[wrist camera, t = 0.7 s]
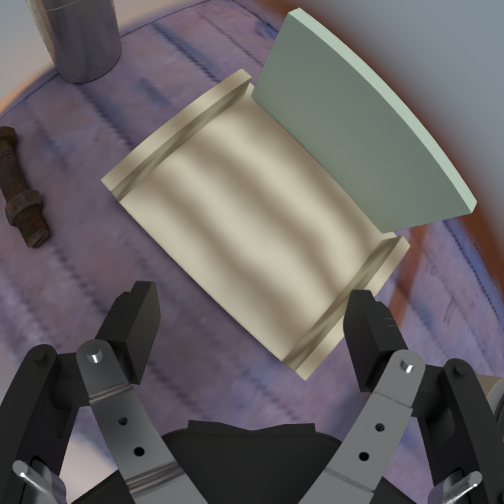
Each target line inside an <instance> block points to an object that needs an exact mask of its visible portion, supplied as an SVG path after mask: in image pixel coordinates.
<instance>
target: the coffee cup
mask: <svg viewBox="0 0 504 504" xmlns="http://www.w3.org/2000/svg"><path fill="white" fill-rule="evenodd" d="M475 375H476V377H477V379H478V381H479V383H480V385H481V387H482V390H483V392H484V394H485V396H486V399H487V401H488V403H489V405H490V408H491V410H492V412H493V415H494V417H495V420H496V422H497V425H498V427H499V430H500V432H501V435H502V438H503V439H504V378H501V377H493V376H486V375H479V374H475ZM450 412H451V411H450Z"/></svg>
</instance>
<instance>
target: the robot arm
mask: <svg viewBox="0 0 504 504" xmlns="http://www.w3.org/2000/svg"><path fill="white" fill-rule="evenodd" d="M26 3H27V5H28V7H29V9H30V12H31V14H32V16H33V18H34V21H35V23H36V25H37V28H38V30H39V32H40V34H41V36H42V38H43V41H44V43H45V45H46V47H47V49H48V51H49V53H50V56H51V58H52V60H53V62H54V64H55V66H56V68H57V70H58V72H59V74H60V76H61V77H62V78H63V79H64V80H66V81H68V82H71V83H84V82H88V81H92V80H94V79H96V78H99V77H101V76H102V75H104V74H105V73H107V72H108V71H109V70H110V69H112V67H113V66H114V65H115V64H116V63H117V61H118V59H119V57H120V54H121V43H120V38H119V32H118V25H117V19H116V13H115V6H114V0H26ZM159 324H160V307H159V301H158V295H157V288H156V284H155V282H151V281H136V282H135V284H134V286H133V288H132V290H131V292H124V293H122V294H121V295H120V296H119V297H118V298H116V300H115V302H114V303H113V305H112V307H111V309H110V311H109V313H108V316H106V318H105V320H104V322H103V324H102V326H101V328H100V329H99V331H98V333H97V335H96V337H95V339H94V340H90V341H87V342H85V343H84V344H82V345H81V346H80V347H79V348H78V350H77V352H75V353H67V354H57V352H56V350H55V349H54V347H52V346H51V345H48V344H41V345H37V346H35V347H33V348H32V349H31V350H29V351H28V353H27V354H26V356H25V358H24V360H23V361H22V363H21V365H20V367H19V369H18V371H17V373H16V375H15V377H14V379H13V381H12V383H11V385H10V387H9V389H8V391H7V393H6V395H5V397H4V399H3V401H2V403H1V406H0V504H67V502H66V487H65V485H64V483H63V481H62V480H61V479H60V478H59V475H60V471H61V467H62V463H63V460H64V456H65V452H66V449H67V445H68V442H69V439H70V435H71V432H72V429H73V426H74V422H75V419H76V416H77V413H78V410H79V407H83V406H91V408H92V411H93V413H94V416H95V418H96V421H97V423H98V425H99V428H100V430H101V432H102V435H103V437H104V439H105V441H106V444H107V446H108V448H109V450H110V452H111V454H112V456H113V459H114V461H115V463H116V465H117V467H118V470H116V471H115V472H114V473H112V474H111V475H110V476H109V477H107V478H106V479H104V480H103V481H102V482H100V483H99V484H97V485H96V486H95V487H94V488H92V489H90V490H89V491H88V492H86V493H85V494H83V495H82V496H80V497H79V498H78V499H76V500H75V501H73V502H72V503H71V504H417V503H415V502H414V501H413V500H411V499H410V498H409V497H408V496H406V495H405V494H404V493H403V492H401V491H400V490H399V489H398V488H396V487H395V486H394V485H393V484H391V483H390V482H389V481H388V480H387V479H385V478H384V477H383V474H384V472H385V470H386V468H387V466H388V464H389V462H390V460H391V458H392V456H393V454H394V452H395V450H396V448H397V446H398V443H399V441H400V439H401V437H402V435H403V432H404V430H405V428H406V426H407V423H408V421H409V419H410V416H413V417H417V420H418V423H419V427H420V430H421V434H422V438H423V442H424V446H425V450H426V454H427V458H428V462H429V466H430V470H431V475H432V480H433V484H434V488H433V489H432V490H431V491H430V493H429V496H428V500H427V501H428V504H504V440H503V438H502V435H501V432H500V430H499V427H498V425H497V422H496V420H495V417H494V415H493V412H492V410H491V408H490V405H489V403H488V401H487V399H486V396H485V394H484V392H483V390H482V387H481V385H480V383H479V381H478V379H477V377H476V375H475V373H474V370H473V369H472V367H471V366H470V365H469V364H468V363H467V362H465V361H464V360H461V359H457V358H453V359H450V360H448V361H447V362H446V364H445V365H444V367H438V366H432V365H427V364H425V362H424V360H423V359H422V357H421V356H420V355H418V354H417V353H415V352H413V351H411V350H408V348H407V345H406V343H405V341H404V339H403V337H402V335H401V333H400V331H399V329H398V326H396V325H397V324H396V322H395V320H394V319H393V316H392V314H391V312H390V310H389V309H388V308H387V307H386V306H385V305H384V304H383V303H382V302H381V301H380V302H376V301H375V299H374V297H373V294H372V292H371V291H370V290H352V291H351V292H350V296H349V300H348V303H347V307H346V311H345V315H344V319H343V332H344V336H345V339H346V342H347V346H348V349H349V352H350V356H351V359H352V363H353V366H354V370H355V373H356V377H357V381H358V384H359V388H360V392H371V396H370V398H369V400H368V401H367V403H366V405H365V407H364V408H363V410H362V412H361V414H360V415H359V417H358V419H357V420H356V422H355V424H354V425H353V427H352V429H351V430H350V432H349V433H348V435H347V436H346V438H345V440H344V441H343V442H341V441H340V440H338V439H336V438H334V437H332V436H330V435H327V434H324V433H320V432H316V431H315V424H314V423H308V424H283V425H278V426H274V427H269V428H264V429H260V430H254V431H250V430H246V429H242V428H238V427H234V426H230V425H227V424H223V423H219V422H206V421H194V420H189V422H188V428H185V429H180V430H175V431H172V432H169V433H167V434H165V435H163V436H161V437H160V435H159V433H158V432H157V430H156V428H155V427H154V425H153V423H152V422H151V420H150V418H149V416H148V415H147V413H146V411H145V409H144V408H143V406H142V404H141V402H140V400H139V399H138V397H137V395H136V393H135V391H134V389H133V387H132V386H131V384H137V385H140V383H141V379H142V376H143V373H144V370H145V367H146V364H147V360H148V357H149V354H150V351H151V348H152V345H153V342H154V339H155V336H156V333H157V330H158V327H159ZM450 411H451V412H450Z"/></svg>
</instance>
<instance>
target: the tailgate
mask: <svg viewBox="0 0 504 504" xmlns="http://www.w3.org/2000/svg"><path fill="white" fill-rule="evenodd" d="M251 97H252V98H253V99H254V100H255V101H256V102H257V103H258V104H259V105H260V106H262V107H263V108H264V109H265V110H266V111H267V112H268V113H269V114H270V115H271V116H272V117H273V118H274V119H276V120H277V121H278V122H279V123H280V124H281V125H282V126H283V127H284V128H285V129H286V130H287V131H288V132H289V133H290V134H291V135H292V136H293V137H294V138H295V139H296V140H297V141H298V142H299V143H300V144H301V145H302V146H303V147H304V148H305V149H306V150H307V151H308V152H309V153H310V154H311V155H312V156H313V157H314V158H315V159H316V160H317V161H318V162H319V163H320V164H321V165H322V166H323V167H324V169H325V170H326V171H327V172H328V173H329V174H330V175H331V176H332V177H333V178H334V179H335V180H336V181H337V182H338V184H339V185H340V186H341V187H342V188H343V189H344V190H345V191H346V192H347V193H348V195H349V196H350V197H351V198H352V199H353V200H354V201H355V202H356V204H357V205H358V206H359V207H360V208H361V209H362V211H363V212H364V213H365V214H366V215H367V216H368V218H369V219H370V220H371V221H372V222H373V223H374V225H375V226H376V227H377V228H378V229H379V231H380V232H381V233H382V234H384V233H388V232H392V231H397V230H401V229H405V228H410V227H414V226H418V225H423V224H427V223H431V222H436V221H440V220H444V219H449V218H453V217H457V216H461V215H465V214H470V213H472V211H473V209H474V207H475V205H476V202H477V201H476V200H475V198H474V197H473V195H472V193H471V192H470V190H469V189H468V187H467V185H466V184H465V182H464V181H463V179H462V178H461V176H460V175H459V173H458V172H457V170H456V169H455V168H454V166H453V165H452V163H451V162H450V161H449V159H448V158H447V156H446V155H445V154H444V152H443V151H442V150H441V148H440V147H439V146H438V144H437V143H436V142H435V140H434V139H433V138H432V136H431V135H430V134H429V133H428V131H427V130H426V129H425V128H424V126H423V125H422V124H421V123H420V122H419V120H418V119H417V118H416V117H415V116H414V114H413V113H412V112H411V111H410V110H409V109H408V108H407V106H406V105H405V104H404V103H403V102H402V101H401V100H400V98H399V97H397V95H396V94H395V93H394V92H393V91H392V90H391V89H390V88H389V87H388V85H387V84H386V83H385V82H384V81H383V80H382V79H381V78H380V77H379V76H378V75H377V74H376V73H375V72H374V71H373V70H372V69H371V68H370V67H369V66H368V65H367V64H365V63H364V62H363V61H362V60H361V59H360V58H359V57H358V56H357V55H356V54H355V53H354V52H353V51H352V50H351V49H349V48H348V47H347V46H346V45H345V44H344V43H343V42H342V41H340V40H339V39H338V38H337V37H336V36H335V35H333V34H332V33H331V32H330V31H329V30H327V29H326V28H325V27H324V26H322V25H321V24H320V23H319V22H317V21H316V20H315V19H314V18H312V17H311V16H310V15H308V14H307V13H306V12H304V11H303V10H302V9H300V8H298V9H296V10H294V11H291V12H289V13H288V15H287V16H286V19H285V21H284V23H283V25H282V27H281V29H280V31H279V33H278V35H277V38H276V40H275V42H274V44H273V46H272V48H271V51H270V53H269V55H268V57H267V60H266V62H265V64H264V66H263V69H262V71H261V73H260V75H259V78H258V80H257V82H256V85H255V87H254V89H253V91H252V94H251Z"/></svg>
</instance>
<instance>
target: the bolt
mask: <svg viewBox="0 0 504 504" xmlns="http://www.w3.org/2000/svg"><path fill="white" fill-rule="evenodd" d="M16 139H17V134H16V132H15V129H14V128H11V127H7V126H2V127H0V188H1V190H2V193H3V195H4V197H5V199H6V202H7V205H6V208H5V212H6V216H7V219H8V221H9V224H10V226H15V227H18V228H19V231H20V233H21V234H22V236H23V238H24V241H25V243H26V244H27V246H28V247H29V248H31V247H33V248H37V247H39V246H40V245H41V244H42V243H44V242H45V241H46V240H47V239H48V237H49V235H50V232H51V231H50V230H49V228H48V226H47V224H46V223H45V221H44V218H43V216H42V214H41V213H40V211H41V209H42V198H41V196H40V194H39V192H38V191H36V190H31V189H29V187H28V185H27V183H26V181H25V178H24V176H23V174H22V172H21V170H20V167H19V165H18V163H17V160H16V157H15V155H14V151H13V150H15V149H16Z"/></svg>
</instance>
